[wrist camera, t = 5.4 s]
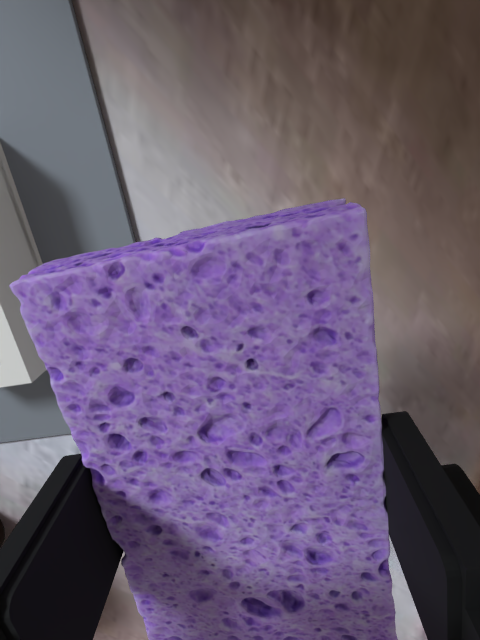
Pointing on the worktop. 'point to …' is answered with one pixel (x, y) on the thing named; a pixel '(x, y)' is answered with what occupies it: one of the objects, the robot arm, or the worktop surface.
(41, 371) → the white rectangular box
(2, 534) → the coffee mug
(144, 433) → the sponges
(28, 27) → the grey mat
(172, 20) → the worktop surface
